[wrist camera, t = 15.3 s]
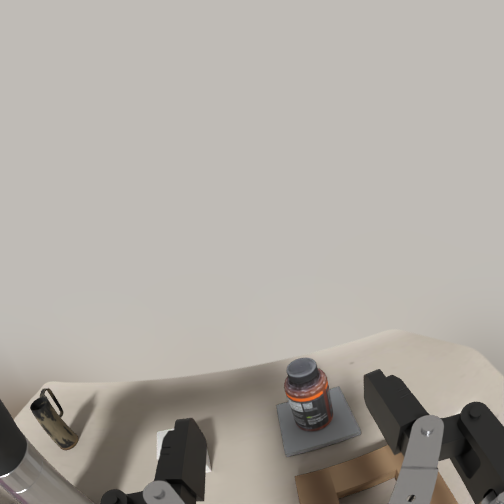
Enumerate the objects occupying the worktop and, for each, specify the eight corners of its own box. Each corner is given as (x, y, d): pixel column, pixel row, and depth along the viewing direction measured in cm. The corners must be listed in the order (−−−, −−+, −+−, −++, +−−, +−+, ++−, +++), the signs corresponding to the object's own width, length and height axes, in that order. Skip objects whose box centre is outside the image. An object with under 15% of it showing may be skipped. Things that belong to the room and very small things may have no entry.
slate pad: (286, 457, 31) (285, 453, 31) (277, 408, 42) (276, 405, 41) (360, 434, 31) (360, 430, 31) (339, 390, 42) (339, 386, 41)
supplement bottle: (320, 400, 40) (309, 347, 37) (341, 419, 34) (333, 365, 32) (288, 417, 38) (272, 366, 35) (307, 439, 32) (292, 388, 30)
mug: (72, 451, 35) (37, 408, 32) (56, 449, 34) (22, 407, 32) (84, 427, 42) (54, 385, 40) (68, 427, 42) (39, 386, 40)
